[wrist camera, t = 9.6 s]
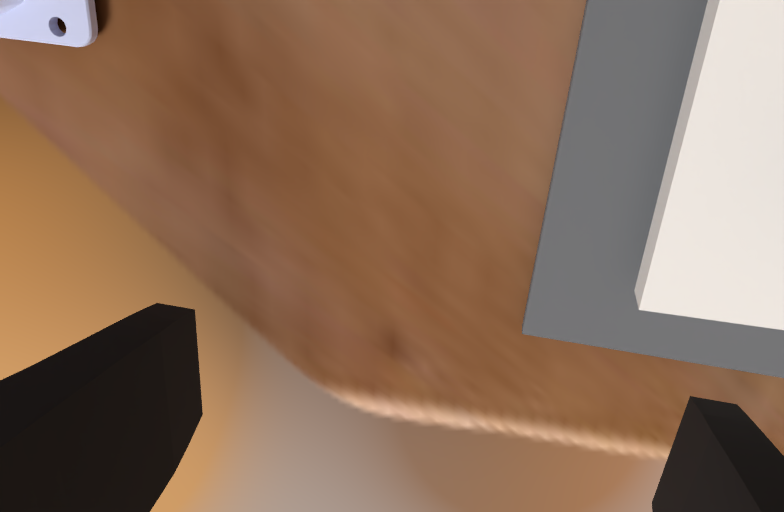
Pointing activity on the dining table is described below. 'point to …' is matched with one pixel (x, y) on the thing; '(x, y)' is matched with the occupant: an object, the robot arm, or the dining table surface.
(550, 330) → the mat
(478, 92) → the dining table surface
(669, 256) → the lid
